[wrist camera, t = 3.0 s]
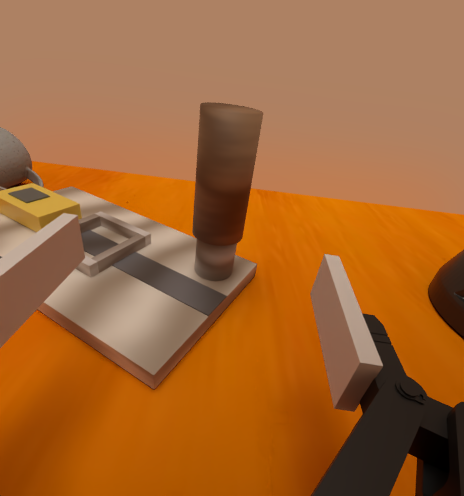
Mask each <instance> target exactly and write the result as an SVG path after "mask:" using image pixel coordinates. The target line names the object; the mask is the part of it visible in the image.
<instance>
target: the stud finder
mask: <svg viewBox="0 0 464 496" xmlns="http://www.w3.org/2000/svg"><path fill="white" fill-rule="evenodd" d="M0 213H2V214H3V215H5V216H7V217H9V218H11V219H13V220H15V221H16V222H18V223H20V224H22V225H24V226H26V227H28V228H30V229H31V230H33V231H35V232H38V231H39V230H41V229H42V228H43V227H45V226H46V225H48V224H49V223H50V222H52V221H53V220H55V219H56V218H57V217H59V216H60V215H62V214H63V213H67V214H73V215H78V219H82V215H81V209H80V204H79V203H77V202H75V201H72V200H70V199H68V198H66V197H63V196H61V195H59V194H57V193H54V192H52V191H50V190H48V189H45V188H43V187H41V186H39V185H36V184H34V183H31V184H27V185H22V186H18V187H14V188H10V189H5V190H1V191H0Z"/></svg>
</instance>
